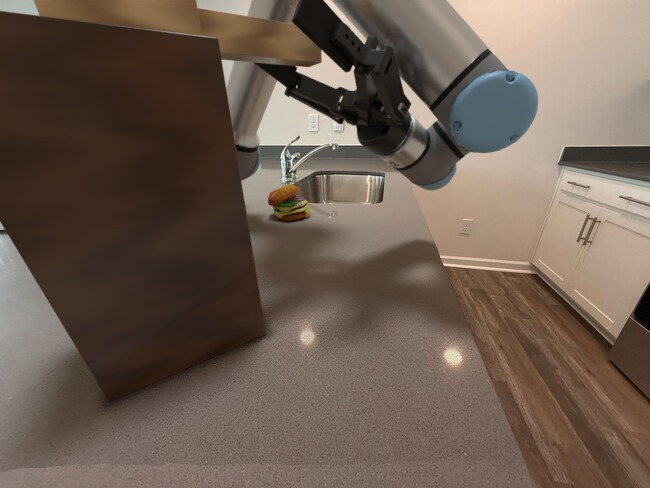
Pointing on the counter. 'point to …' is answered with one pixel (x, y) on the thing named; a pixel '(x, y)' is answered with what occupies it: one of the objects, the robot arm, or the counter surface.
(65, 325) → the stand
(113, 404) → the counter surface
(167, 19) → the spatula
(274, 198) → the cheeseburger
